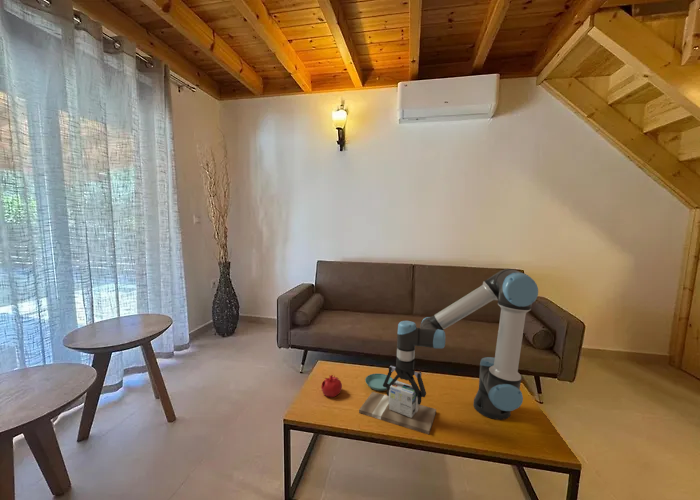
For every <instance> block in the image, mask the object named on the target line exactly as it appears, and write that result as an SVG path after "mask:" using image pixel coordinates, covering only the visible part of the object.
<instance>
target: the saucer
mask: <svg viewBox="0 0 700 500" xmlns="http://www.w3.org/2000/svg"><path fill="white" fill-rule="evenodd" d="M387 375H388V374H385V373H372V374H371V373H370V374H368V375H367V376H366V377H365V379H364V380H365V381H364V382H365V383H366V385H367V386H368V387H369V388H370V389H372V390H374V391H378V392H384V391H387V388H386V387H383V384H384V381H385V379H386V377H387ZM393 379H394V378H393V377H391V376H390V378H389V381H388V383H387V384H390V382H391V381H392V380H393Z"/></svg>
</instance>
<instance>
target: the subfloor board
mask: <svg viewBox="0 0 700 500" xmlns="http://www.w3.org/2000/svg"><path fill="white" fill-rule="evenodd" d="M388 403H389V396H387V394H383V393H379V392H375V391H371V393H370V394H369V396H367V398H366V400H365V401H364V402H363V404H362V405H361V407H360V408H359V409H358V413H359V414H361V415H364V416H368V417H371V418H375V419H378V420H381V421H383V422H387V423H391V424H393V425H398V426H400V427H403V428H406V429H410V430H413V431H416V432H419V433H423V434H425V435H427V436H428V435H430V432H431V429H432V427H433V423H434V420H435V417H436V414H437V408H434V407H429V406H426V405H422V404H419V408H418V411H417V412H416V413H415V414H414V416H413V417H412V418H410V417H408V416H405V415H403V414H400V413H398V412H395V411H392V410H390V409H389V404H388Z"/></svg>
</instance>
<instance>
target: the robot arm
mask: <svg viewBox="0 0 700 500" xmlns="http://www.w3.org/2000/svg"><path fill="white" fill-rule="evenodd" d="M538 297H539V288H538V284H537V282H536V281H535V280H534V279H533V278H532V277H531V276H529V275H528V274H526V273H523V272H521V271H519V270H517V269H515V268H505V269H502V270H499V271H498V272H496V273H494V274H493V275H492V276H490V277H488V278H487V279H485V280H483V281H482V284H481V285H480V286H479V287H477V288H476V289H474V290H471V292H469V293H468V294H465V295H464V296H463V297H461V298H460V299H459V298H458V299H457V300H456V301H455V302H453V303H452V304H450V305H448V306H446V307H445V308H443V309H442V310H440V311H438V312H437V313H435V314H434V315H431V316H426V317H424V318H423V319H422V321H421V323H420V327H417V324H416V322H414V321H410V320H402V321H400V322H398V324H397V333H396V334H397V335H396V336H397V337H396V340H397V343H396V360H395V361H396V362H395V363H396V366H394V365H392V364H391V365H390V366H389V367H388V372H387V374H386V375H387V377H386V379H385V381H384V384H383V387H386V388H387V390H386V395H387V396H389V402H390V386H391V385H393V384H394V383H395V382H396V380H397V381H398V379H400V380H404V381H408V382H409V383H410V385H412V387H413V389H414V390H415V392H416V394H417V396H416V406H415V412H417V411H418V408H419V405H422V404H421V403H422V398H425V397H426V395H427V391H426V389H425V384H424V382H423V378H422V374H423V373H422V372H421V371H415V355H416V354H415V353H416V352H415V351H416V347H423V348H429V349H431V348H432V349H444V348H445V347H446V331H445V329H447V328H449V327H451V326H452V325H454V324H455V323H457V322H459V321H460V320H462V319H464V318H466V317H467V316H469V315H471V314H472V313H474V312H476V311H477V310H479V309H481V308H482V307H484V306H486V305H488V304H489V303H491V302H492V301H497V305H498V306H499V307H500V315H499V324H498V331H497V337H496V338H497V339H496V344H495V345H496V346H495V352H494V353H495V354H494V357H493V356H492V357H491V356H487V357H485V356H484V357H482V358H481V359H480V363H479V378H478V379H479V380H478V390H477V392H476V394H475V397H474V398H473V407H474V409H475V411H476V412H477V413H479V414H480V415H482V416H484V417H486V418H489V419H494V420H499V421H500V420H506V419H508V418H510V417H511V412H512V411H515V410H517V409H519V408H520V407H521V405H522V404H523V402H524V401H523V400H524V396H523V392H522V390H521V384H522V375H521V374H520V373H519V363H520V358H521V350H522V344H523V336H524V329H525V322H526V315H527V313H528V312H530V311H531V310H532V306H533V305H532V304H533V303H535V302H536V300H537V299H538ZM394 371H395V372H396V375H395V377H394V378H393V380H392V381H391V382H390V384H387V383H388V381H389V378H390V377H391V376H392V374H393V372H394ZM414 376H415V377H414ZM415 378H416V380H417V382H416V381H415ZM388 404H389V403H388Z"/></svg>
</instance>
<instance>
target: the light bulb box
mask: <svg viewBox="0 0 700 500" xmlns="http://www.w3.org/2000/svg"><path fill="white" fill-rule="evenodd" d="M416 396H417V394H416V392H415V390H414V389H413V387H412V385H411V384H408V383H406V382H402V381H399V380H398V379H397V380H396V382H395V383H394V384H393V385H391V386H390V402H389V409H390V410H392V411H395V412H398V413H400V414H403V415H405V416H408V417H410V418H412V417H413V416H414V414H415V413H416V412H415V406H416Z"/></svg>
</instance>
